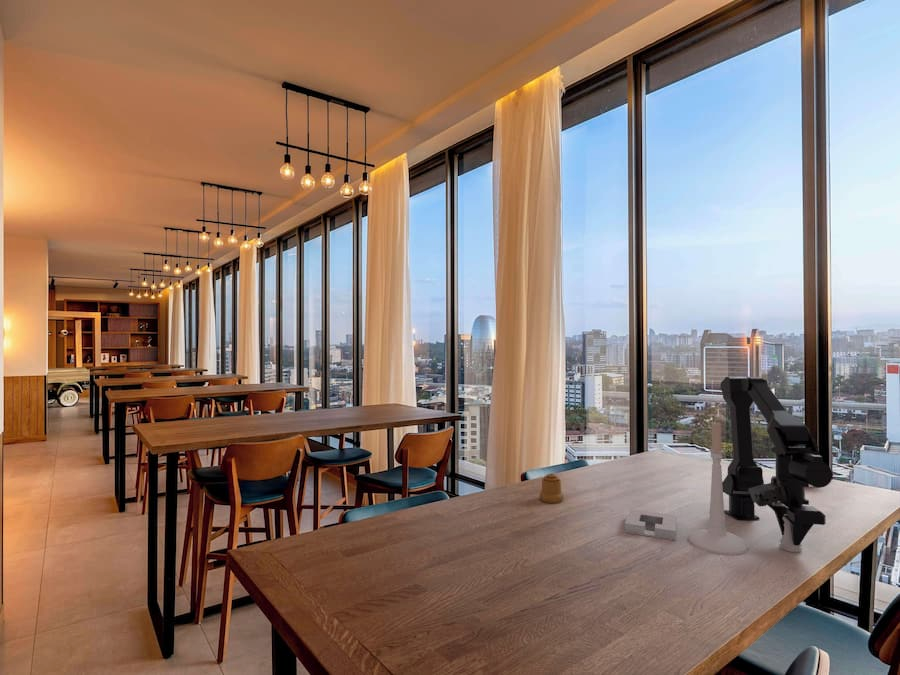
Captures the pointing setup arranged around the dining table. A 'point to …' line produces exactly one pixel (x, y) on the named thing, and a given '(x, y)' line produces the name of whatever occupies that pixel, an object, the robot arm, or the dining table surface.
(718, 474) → the candlestick
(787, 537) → the rook chess piece
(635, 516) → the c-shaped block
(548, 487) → the ornamental finial
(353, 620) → the dining table surface
